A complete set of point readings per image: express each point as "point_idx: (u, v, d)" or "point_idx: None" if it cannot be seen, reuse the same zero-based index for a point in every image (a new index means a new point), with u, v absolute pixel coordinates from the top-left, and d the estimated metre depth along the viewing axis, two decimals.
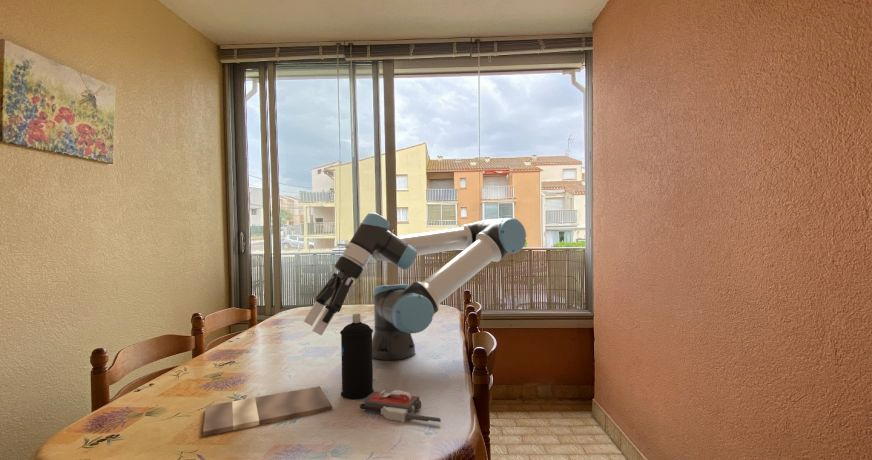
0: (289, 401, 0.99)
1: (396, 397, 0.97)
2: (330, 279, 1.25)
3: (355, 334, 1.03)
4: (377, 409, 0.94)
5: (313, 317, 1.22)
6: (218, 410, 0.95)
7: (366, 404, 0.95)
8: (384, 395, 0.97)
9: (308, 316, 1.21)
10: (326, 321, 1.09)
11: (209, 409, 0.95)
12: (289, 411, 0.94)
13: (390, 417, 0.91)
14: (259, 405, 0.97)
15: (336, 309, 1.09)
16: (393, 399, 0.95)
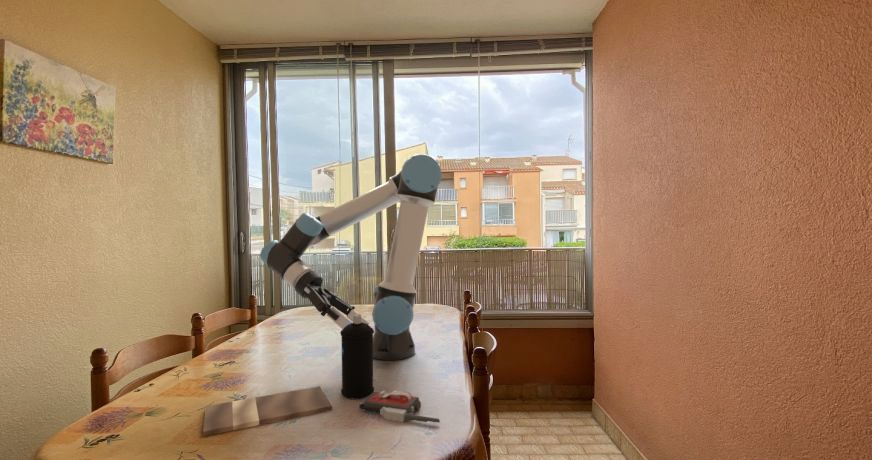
0: (289, 401, 0.99)
1: (396, 397, 0.97)
2: None
3: (355, 337, 1.00)
4: (377, 410, 0.94)
5: None
6: (218, 410, 0.95)
7: (366, 404, 0.95)
8: (384, 395, 0.97)
9: None
10: (335, 316, 1.08)
11: (209, 409, 0.95)
12: (289, 411, 0.94)
13: (389, 417, 0.91)
14: (259, 405, 0.97)
15: (322, 306, 1.07)
16: (393, 399, 0.95)
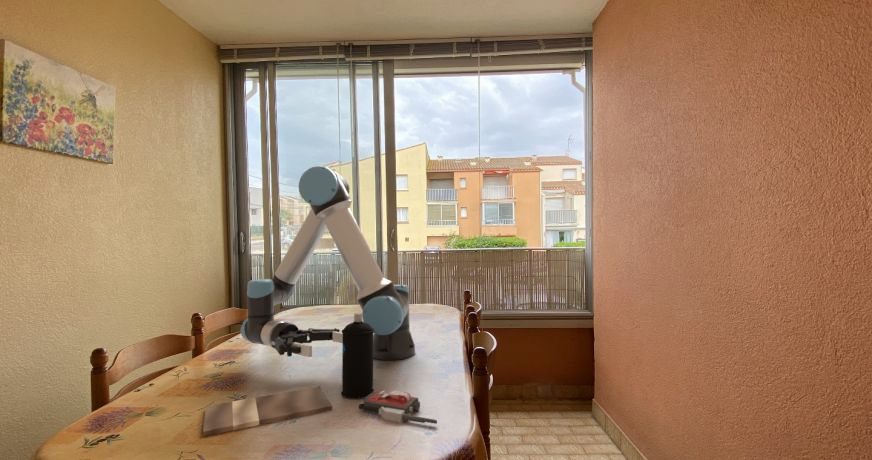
0: (289, 401, 0.99)
1: (395, 397, 0.97)
2: None
3: (357, 333, 1.03)
4: (376, 409, 0.94)
5: None
6: (218, 410, 0.95)
7: (365, 404, 0.96)
8: (383, 395, 0.97)
9: None
10: (296, 349, 1.07)
11: (209, 409, 0.95)
12: (289, 411, 0.94)
13: (387, 417, 0.91)
14: (259, 405, 0.97)
15: (280, 349, 1.07)
16: (392, 399, 0.95)
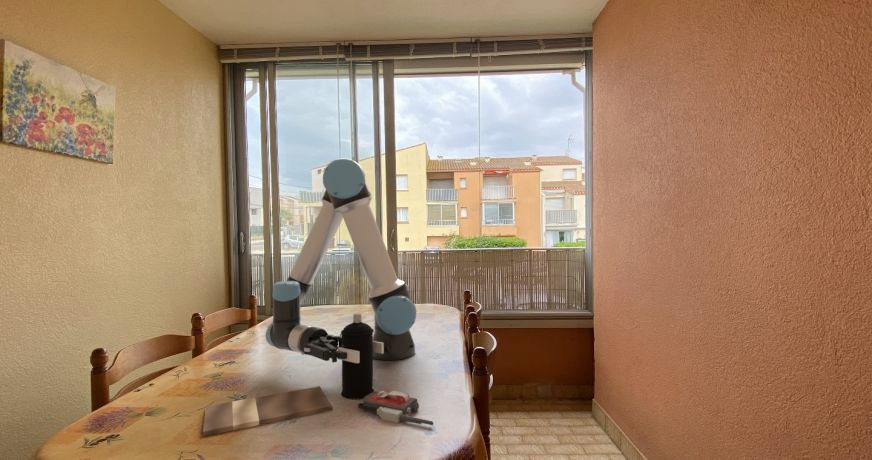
0: (289, 401, 0.99)
1: (394, 398, 0.97)
2: None
3: (357, 334, 1.03)
4: (374, 409, 0.94)
5: (375, 345, 1.08)
6: (218, 410, 0.95)
7: (364, 403, 0.96)
8: (382, 395, 0.97)
9: (376, 351, 1.08)
10: (342, 355, 1.01)
11: (209, 409, 0.95)
12: (289, 411, 0.94)
13: (384, 417, 0.91)
14: (259, 405, 0.97)
15: (325, 354, 1.02)
16: (390, 400, 0.95)
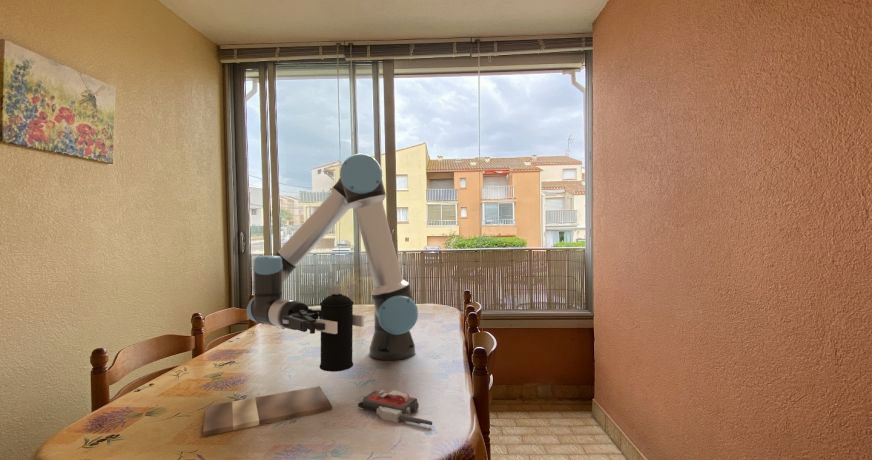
0: (289, 401, 0.99)
1: (394, 397, 0.97)
2: None
3: (336, 305, 1.01)
4: (374, 409, 0.95)
5: (355, 318, 1.06)
6: (218, 410, 0.95)
7: (364, 403, 0.96)
8: (382, 395, 0.97)
9: (356, 324, 1.06)
10: (320, 326, 0.99)
11: (209, 409, 0.95)
12: (289, 411, 0.94)
13: (384, 417, 0.91)
14: (259, 405, 0.97)
15: (303, 325, 1.00)
16: (390, 399, 0.96)
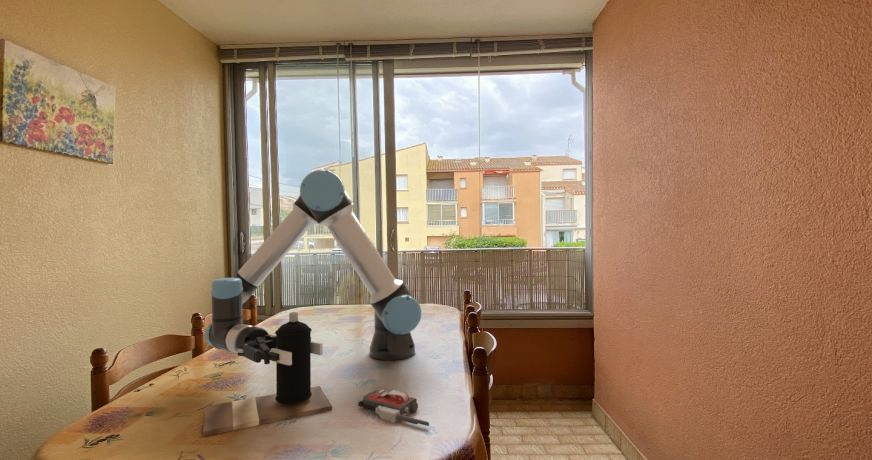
0: None
1: (393, 397, 0.97)
2: None
3: (291, 334, 0.96)
4: (373, 408, 0.95)
5: (313, 346, 1.02)
6: (218, 410, 0.95)
7: (364, 402, 0.97)
8: (382, 394, 0.98)
9: (314, 352, 1.01)
10: (274, 357, 0.94)
11: (209, 409, 0.95)
12: (289, 411, 0.94)
13: (382, 416, 0.92)
14: (259, 405, 0.97)
15: (256, 355, 0.95)
16: (389, 399, 0.96)
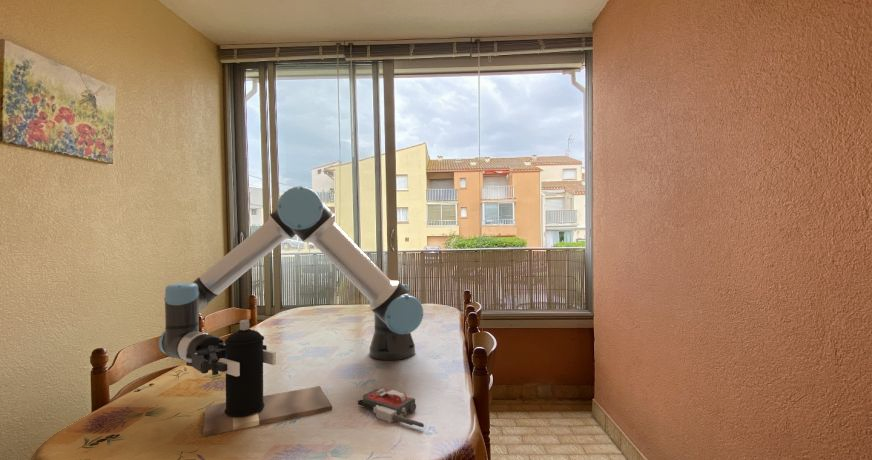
0: (289, 401, 0.99)
1: (392, 397, 0.97)
2: None
3: (240, 343, 0.91)
4: (371, 407, 0.95)
5: (266, 355, 0.97)
6: (218, 410, 0.95)
7: (363, 401, 0.97)
8: (381, 394, 0.98)
9: (267, 362, 0.97)
10: (221, 367, 0.89)
11: (209, 409, 0.95)
12: (289, 411, 0.94)
13: (379, 416, 0.92)
14: None
15: (203, 366, 0.90)
16: (388, 399, 0.96)
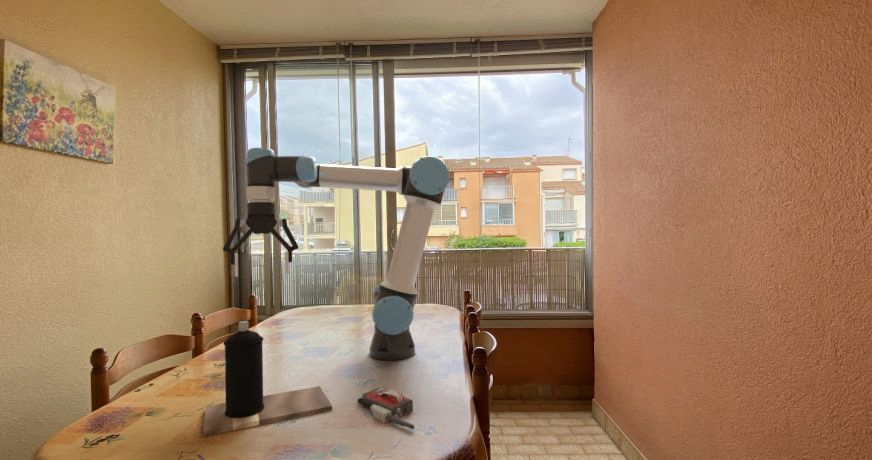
0: (289, 401, 0.99)
1: (390, 397, 0.97)
2: None
3: (239, 344, 0.91)
4: (369, 406, 0.96)
5: (285, 266, 1.25)
6: (218, 410, 0.95)
7: (362, 399, 0.99)
8: (380, 393, 0.98)
9: None
10: None
11: (209, 409, 0.95)
12: (289, 411, 0.94)
13: (374, 415, 0.92)
14: None
15: (223, 249, 1.18)
16: (385, 398, 0.96)
